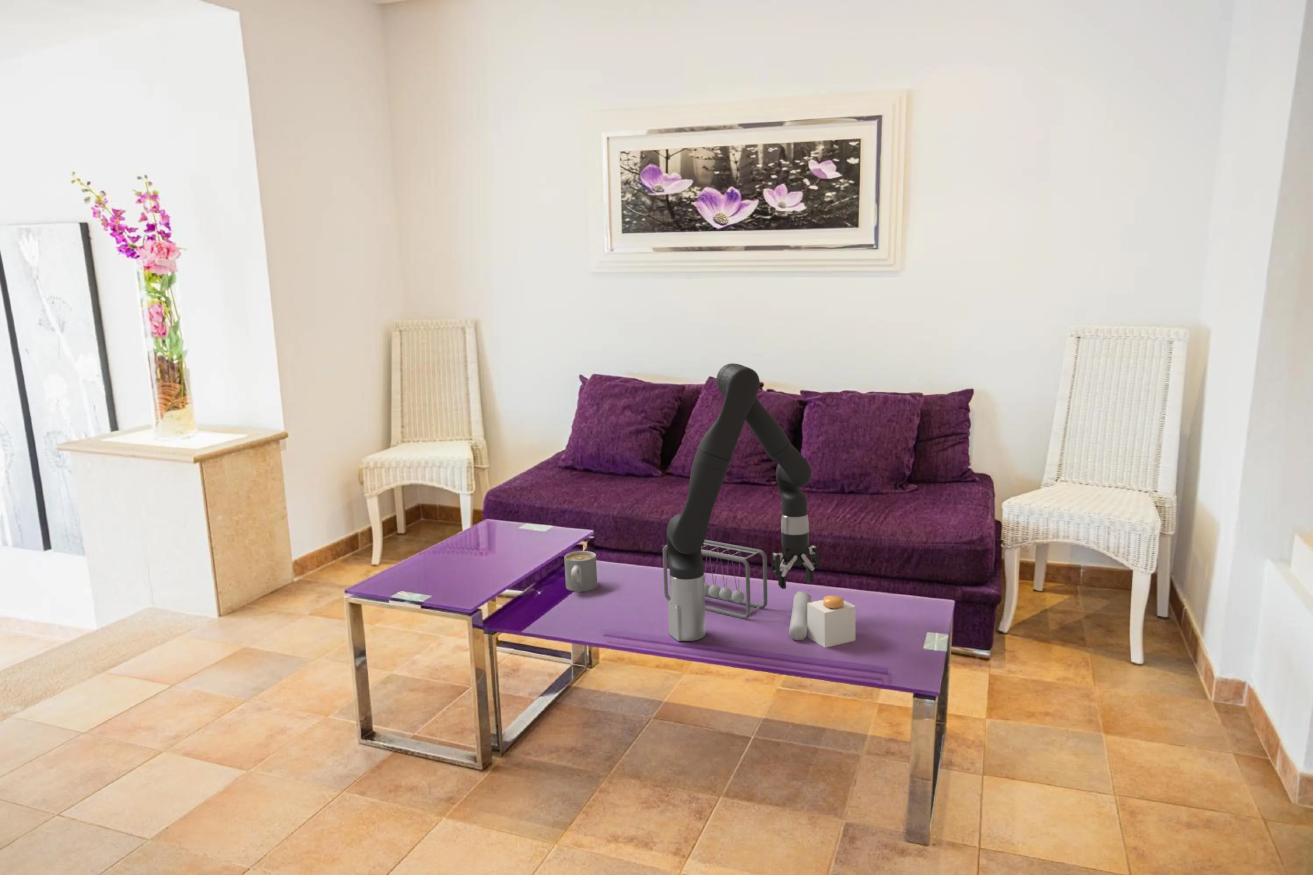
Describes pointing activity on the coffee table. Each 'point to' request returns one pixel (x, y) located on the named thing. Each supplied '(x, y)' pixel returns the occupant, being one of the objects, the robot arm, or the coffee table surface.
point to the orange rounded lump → (833, 602)
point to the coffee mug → (580, 571)
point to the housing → (831, 623)
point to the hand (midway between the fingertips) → (796, 585)
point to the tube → (799, 616)
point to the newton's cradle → (725, 592)
